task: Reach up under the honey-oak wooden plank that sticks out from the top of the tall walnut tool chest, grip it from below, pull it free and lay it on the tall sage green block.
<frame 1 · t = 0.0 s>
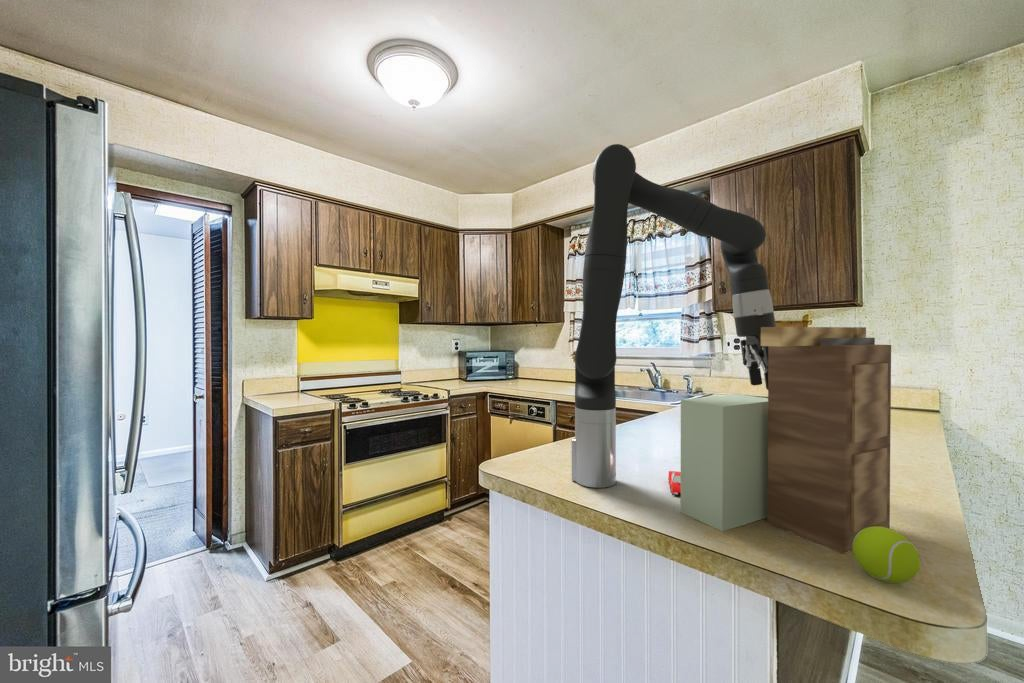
hand: (764, 387, 92), 22 cm above the counter, tool pointing down, fingers open, 8 cm apart
toy car: (681, 490, 95), on the counter
tennis ball: (884, 580, 59), on the counter
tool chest: (826, 528, 74), on the counter
wooden plank: (814, 345, 72), point 32 cm above the counter, touching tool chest
tall sage green block: (729, 512, 81), on the counter
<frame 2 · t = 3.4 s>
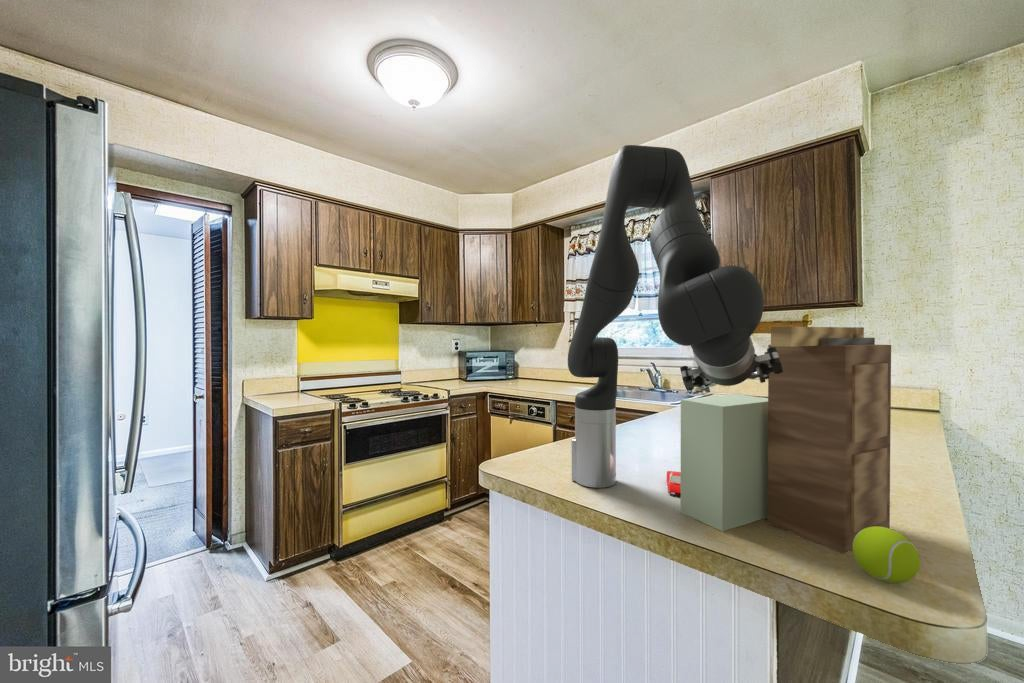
hand: (733, 382, 74), 26 cm above the counter, tool tilted 70°, fingers open, 8 cm apart
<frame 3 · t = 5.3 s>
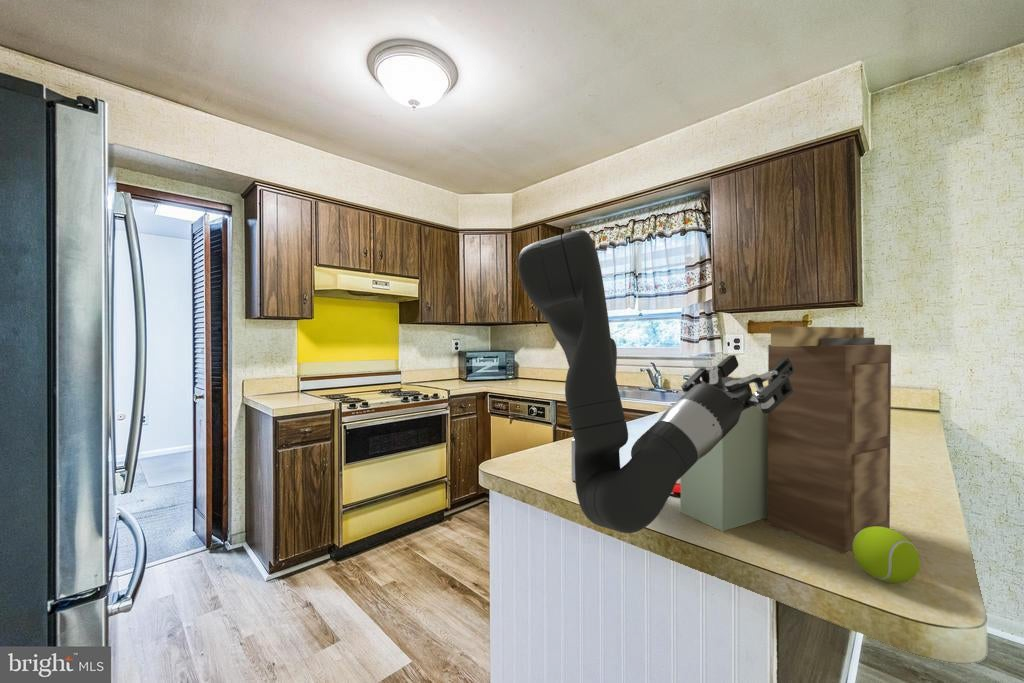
hand: (760, 361, 66), 30 cm above the counter, tool pointing upward, fingers open, 8 cm apart
nothing on the counter moved.
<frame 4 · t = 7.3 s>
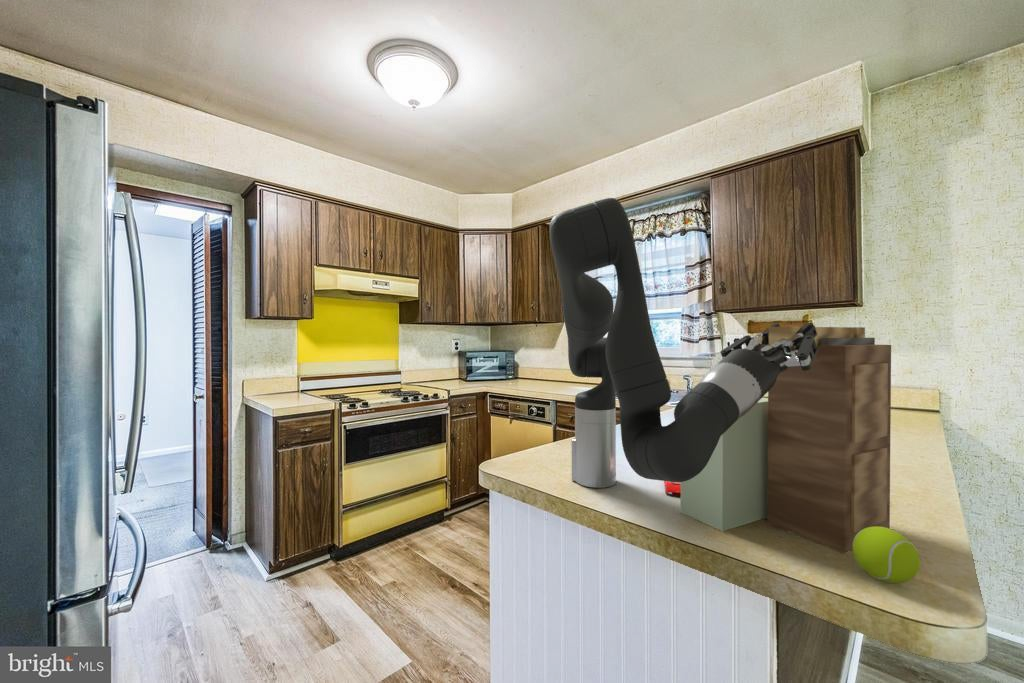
hand: (794, 328, 70), 35 cm above the counter, tool pointing upward, fingers open, 4 cm apart
wooden plank: (818, 345, 72), point 32 cm above the counter, touching gripper, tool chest
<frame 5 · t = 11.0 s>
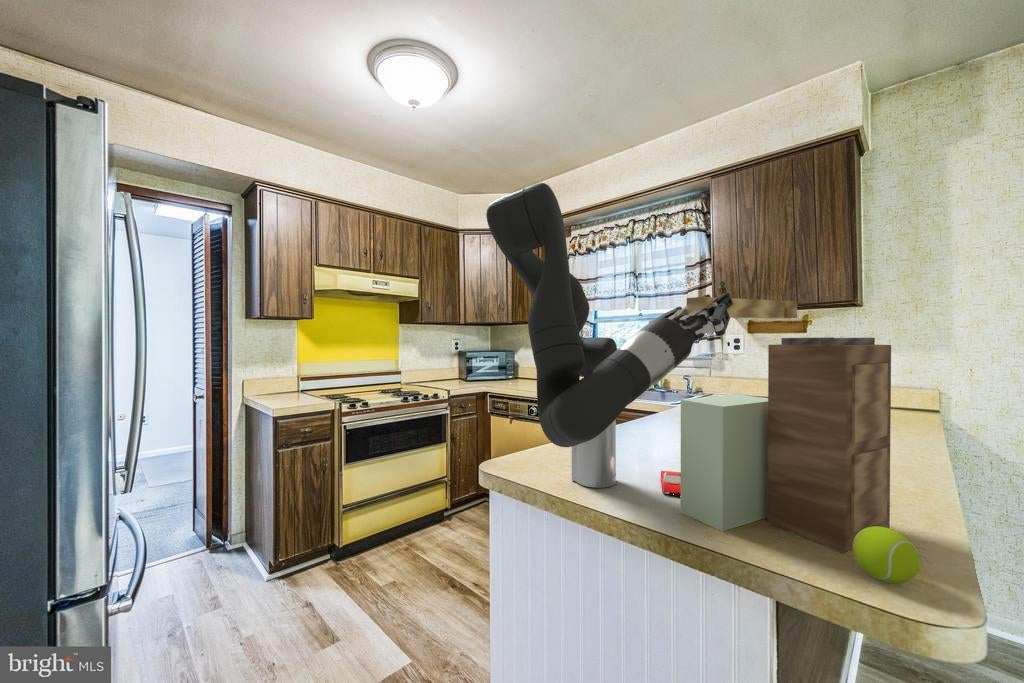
hand: (718, 298, 70), 40 cm above the counter, tool pointing upward, fingers closed on wooden plank, 3 cm apart
wooden plank: (743, 317, 73), point 37 cm above the counter, touching gripper
when the fingers open (26 cm above the counter, at t = 14.5 s): wooden plank drops 1 cm, resting on tall sage green block.
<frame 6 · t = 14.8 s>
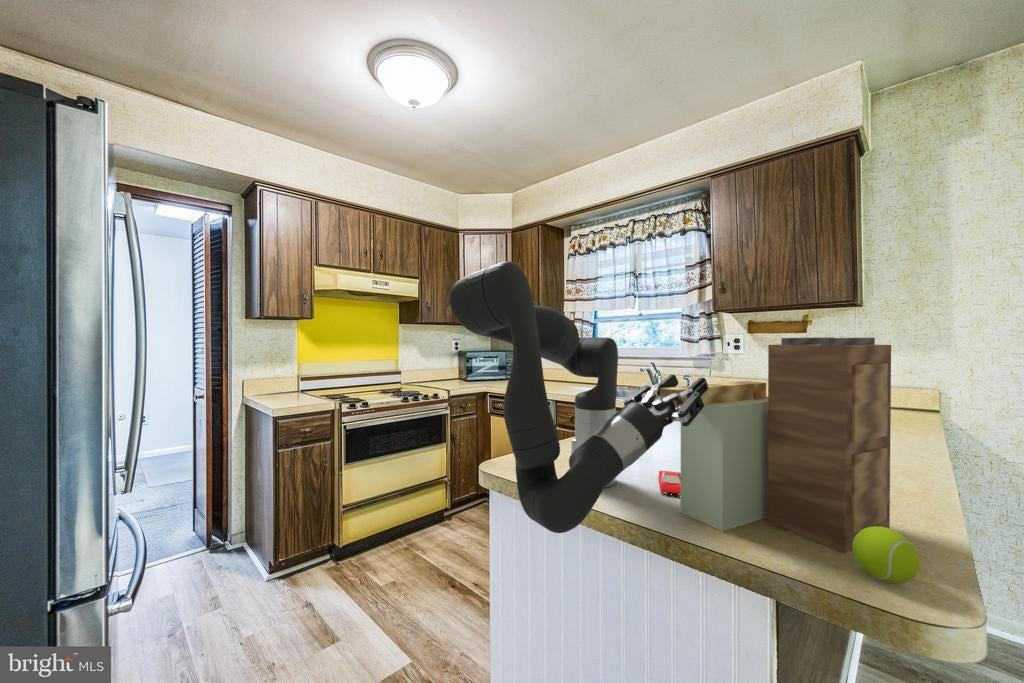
hand: (689, 380, 76), 26 cm above the counter, tool pointing upward, fingers open, 6 cm apart
wooden plank: (714, 401, 79), point 21 cm above the counter, touching tall sage green block
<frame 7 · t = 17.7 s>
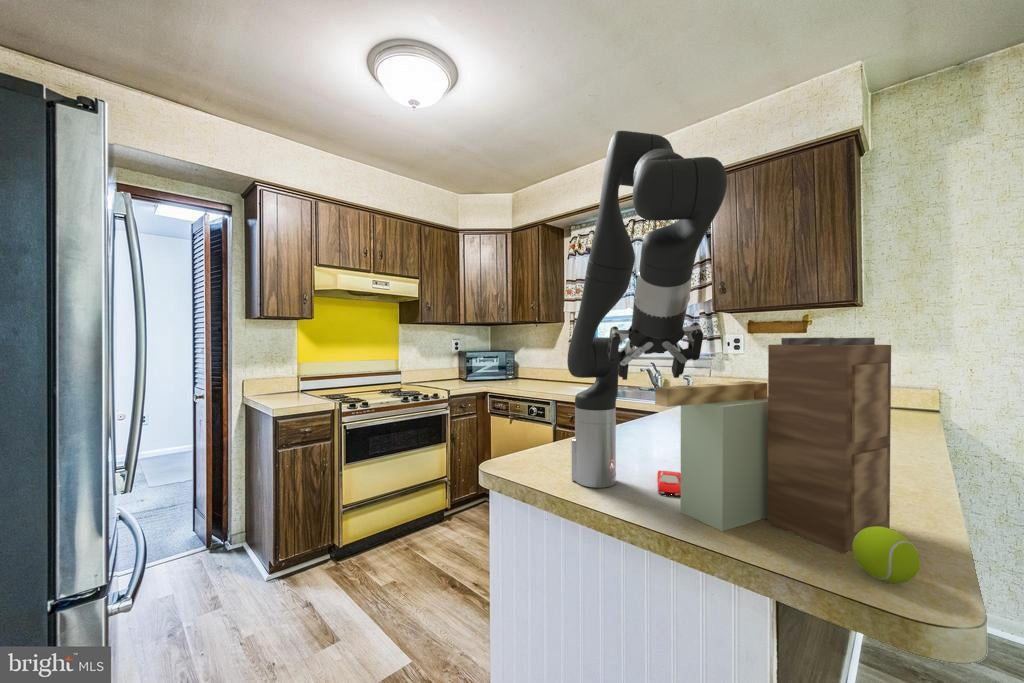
hand: (649, 375, 74), 27 cm above the counter, tool tilted 40°, fingers open, 8 cm apart
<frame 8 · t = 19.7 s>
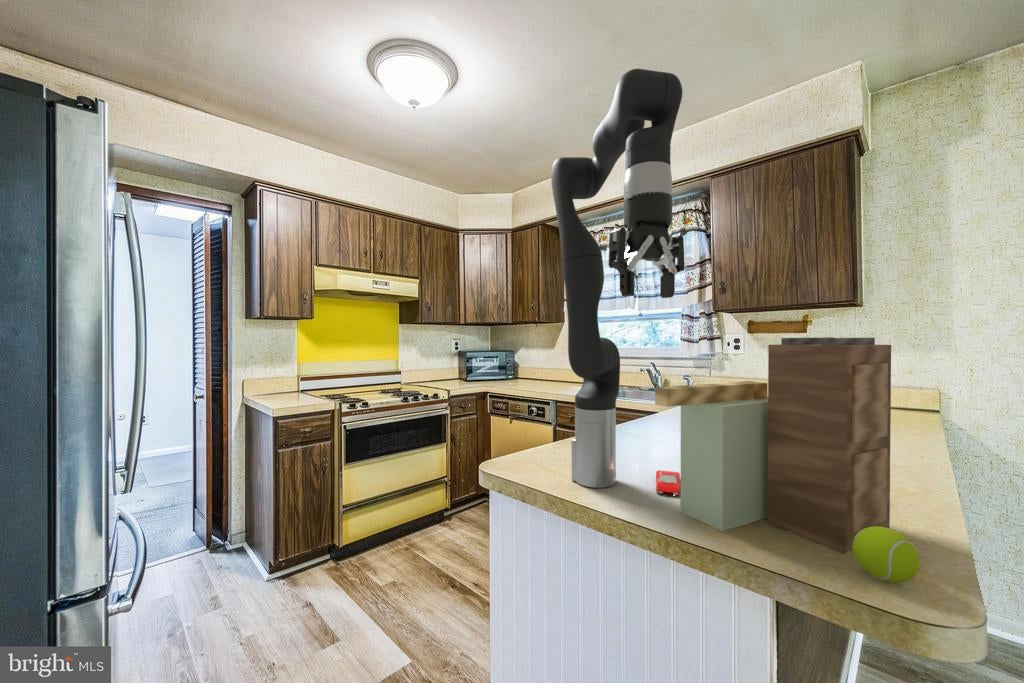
hand: (647, 296, 70), 40 cm above the counter, tool pointing down, fingers open, 8 cm apart
at the end: wooden plank touching tall sage green block; wooden plank point 21.5 cm above the counter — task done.
